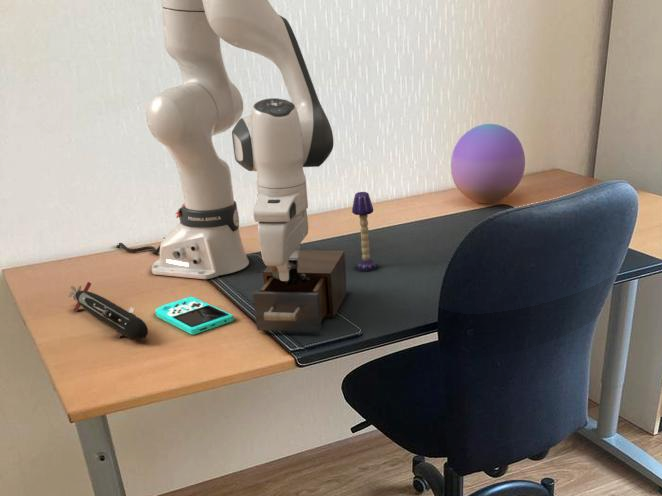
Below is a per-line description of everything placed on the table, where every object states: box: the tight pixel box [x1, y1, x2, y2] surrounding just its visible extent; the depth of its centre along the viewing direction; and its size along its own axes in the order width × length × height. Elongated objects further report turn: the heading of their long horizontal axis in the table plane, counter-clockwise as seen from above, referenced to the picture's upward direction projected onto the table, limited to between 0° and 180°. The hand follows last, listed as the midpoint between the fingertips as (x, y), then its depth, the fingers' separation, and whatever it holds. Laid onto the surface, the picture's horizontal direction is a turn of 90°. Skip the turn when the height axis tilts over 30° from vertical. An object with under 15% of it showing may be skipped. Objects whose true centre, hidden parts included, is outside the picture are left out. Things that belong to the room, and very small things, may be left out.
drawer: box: [252, 276, 329, 333], centre depth 160 cm, size 17×12×7 cm
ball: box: [450, 123, 526, 204], centre depth 225 cm, size 20×20×20 cm
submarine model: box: [67, 281, 149, 341], centre depth 166 cm, size 31×7×10 cm
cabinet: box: [262, 249, 348, 319], centre depth 170 cm, size 14×14×9 cm
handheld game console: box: [154, 296, 235, 336], centre depth 169 cm, size 10×16×1 cm, turn 41°
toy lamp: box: [351, 191, 377, 272], centre depth 184 cm, size 5×5×17 cm
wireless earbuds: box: [272, 262, 310, 286], centre depth 158 cm, size 5×7×3 cm, turn 32°
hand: (289, 273), depth 158 cm, fingers closed on wireless earbuds, 5 cm apart
